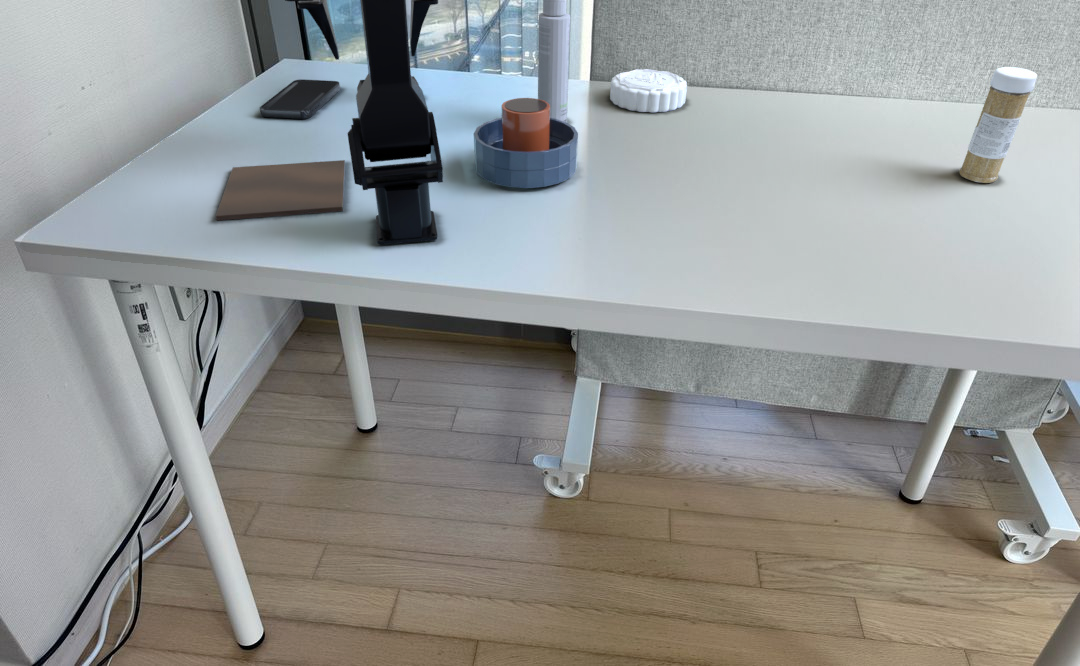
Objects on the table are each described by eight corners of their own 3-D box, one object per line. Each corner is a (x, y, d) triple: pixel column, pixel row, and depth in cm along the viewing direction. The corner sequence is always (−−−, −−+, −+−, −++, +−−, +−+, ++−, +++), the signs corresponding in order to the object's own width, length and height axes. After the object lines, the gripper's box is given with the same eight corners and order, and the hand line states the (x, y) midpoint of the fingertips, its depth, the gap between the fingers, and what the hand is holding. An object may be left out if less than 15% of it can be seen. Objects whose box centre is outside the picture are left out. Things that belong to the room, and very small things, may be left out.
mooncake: (697, 97, 121) (700, 75, 119) (664, 118, 113) (666, 95, 111) (632, 84, 127) (633, 62, 125) (596, 103, 119) (597, 80, 117)
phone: (256, 109, 112) (295, 78, 124) (258, 116, 112) (297, 85, 124) (307, 112, 111) (341, 81, 123) (309, 119, 111) (342, 88, 124)
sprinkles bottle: (972, 167, 99) (1010, 63, 91) (1004, 180, 96) (1047, 73, 88) (950, 174, 97) (987, 68, 89) (982, 187, 94) (1023, 79, 86)
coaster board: (343, 211, 87) (342, 206, 87) (216, 220, 85) (215, 216, 85) (345, 164, 98) (344, 159, 98) (233, 171, 96) (232, 167, 96)
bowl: (586, 187, 93) (588, 149, 90) (482, 195, 91) (481, 156, 88) (564, 148, 103) (565, 112, 100) (470, 154, 101) (468, 118, 98)
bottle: (560, 128, 109) (564, -20, 98) (533, 124, 111) (533, -23, 99) (571, 119, 113) (576, -26, 101) (544, 115, 114) (546, -29, 103)
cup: (553, 174, 95) (554, 111, 90) (506, 177, 94) (505, 114, 89) (544, 156, 100) (545, 95, 95) (499, 159, 99) (498, 98, 94)
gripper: (436, -96, 92) (444, 37, 101) (278, -94, 89) (301, 43, 98) (444, -84, 83) (453, 60, 92) (269, -82, 80) (296, 67, 89)
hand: (375, 57), depth 93 cm, fingers open, 9 cm apart
